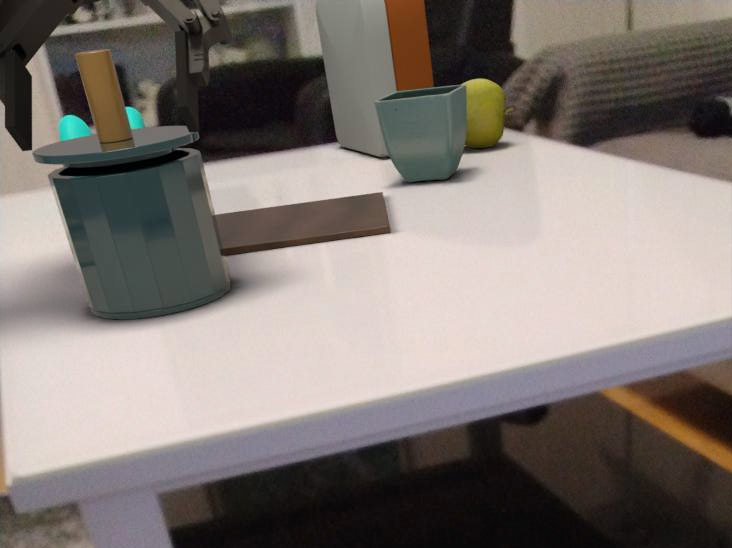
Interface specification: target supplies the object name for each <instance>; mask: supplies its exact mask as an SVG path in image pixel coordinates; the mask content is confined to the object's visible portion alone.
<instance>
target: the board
mask: <svg viewBox="0 0 732 548" xmlns="http://www.w3.org/2000/svg"><path fill="white" fill-rule="evenodd" d="M215 216H216V220H217V225H218V229H219V233H220V237H221V242H222V246H223V250H224V254H225V256H228V255H236V254H242V253H251V252H257V251H265V250H273V249H280V248H286V247H293V246H302V245H308V244H315V243H323V242H329V241H330V242H331V241H338V240H345V239H346V240H347V239H352V238H353V239H354V238H360V237H367V236H375V235H381V234H382V235H383V234H389V233H391V227H390V221H389V217H388V216H389V215H388V211H387V206H386V202H385V197H384V192H383V191H379V192H373V193H365V194H358V195H351V196H350V195H349V196H342V197H335V198H327V199H320V200H319V199H318V200H312V201H306V202H297V203H291V204H283V205H276V206H269V207H262V208H254V209H247V210H238V211H233V212H224V213H217V214H216V213H215Z"/></svg>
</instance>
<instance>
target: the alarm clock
mask: <svg viewBox="0 0 732 548" xmlns="http://www.w3.org/2000/svg"><path fill="white" fill-rule="evenodd" d="M315 16H316V21H317V28H318V35H319V40H320V41H319V42H320V46H321V53H322V57H323V65H324V70H325V76H326V82H327V89H328V95H329V100H330V108H331V114H332V120H333V125H334V132H335V136H336V139H337V142H338V144H339V146H340V147H343V148H345V149H350V150H353V151H357V152H361V153H365V154H367V155H368V154H369V155H372V156H376V157H379V158H383V159H385V158H390V157H389V154H388V152H387V149H386V146H385V143H384V139H383V136H382V132H381V128H380V124H379V120H378V116H377V112H376V108H375V104H374V101H376V100H378V99H380V98H382V97H384V96H387V95H389V94H391V93H393V92H398V91H406V90H416V89H425V88H434V87H435V86H434V85H435V83H434V77H433V67H432V59H431V49H430V43H429V32H428V24H427V15H426V6H425V0H316V1H315Z"/></svg>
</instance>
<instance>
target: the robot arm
mask: <svg viewBox="0 0 732 548" xmlns="http://www.w3.org/2000/svg"><path fill="white" fill-rule="evenodd" d="M139 1H140V2H141V3H142V4H143V5H144V6H145V7H149V8H150V9H151V10H152V11H153V12H154V13H155V14H156V15H157V16H158V17H159V18H160V19H161V20H162V21H163V23H165V24H166V25H167V26H168V27H169V28H171V30H172V31H173V32H174V43H175V44H174V49H175V51H174V53H175V69H176V70H175V75H176V103H177V110H178V112H179V115H180V116H181V118H182V120H183V122H184V124H185V126H187V128H188V131H189V133H191V132H199V133H200V119H199V118H200V117H199V114H200V113H199V93H198V92H199V91H198V87H208V86H209V83H210V80H211V77H210V53H209V52H210V49H211V48H212V47H213V46H214V45H217V44H218V43H219V44H220V45H222V46H226V45H229V44H231V43H232V41H233V33H232V32H231V28H230V26H229V23H228V20H227V17H226V15H225V12H224V10H223V8H222V6H221V4H220V3H219V1H218V0H193V2H194V3H195V6H196V7H197V9H198V10H199V12H200V14H201V15H202V18H199V15H198V13H197V11H196V10H194V11H193V12H194V13H193V12H192V11H191V9H189V8H188V7H187V6H186V5H185V4H184V3H183V2H182V1H181V0H139ZM97 2H101V0H0V102H1V103H2V104H3V106H4V128H5V129H6V131H7V132H8V134H9V135H10V137H11V138H12V139H13V140H14V142H15V143H16V145H17V146H18V147H19V149H20V150H21V152H29V151H33V76H32V74H31V72H30V71H29V69H28V67H26V66H28V64H29V63H30V62H31V60H32V59H33V58H34V56H35V55H36V54H37V53H38V52H39V50H40V49H41V48H42V47H43V46H44V44H45V43H46V41H47V40H48V39H49V37H51V35H52V34H53V33H54V32H55V30H56V29H57V28H58V26H59V25H60V24H61V22H62V21H63V20H64V19H65V18H66V16H67V15H71V16H73V15H74V14H75V13H76V12H78V10H79V9H80V8H81V6H82V5H83V4H84V3H86V4H91V3H97Z"/></svg>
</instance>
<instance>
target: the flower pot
mask: <svg viewBox="0 0 732 548" xmlns="http://www.w3.org/2000/svg"><path fill="white" fill-rule="evenodd" d="M374 104H375V108H376V112H377V116H378V120H379V124H380V128H381V132H382V136H383V139H384V143H385V146H386V149H387V152H388V154H389V157H388V158H390V159H389V160H390V161H391V162H392V164H393V166H394V168H395V169H396V171H397V172H398V174H399V175H400V176H401V177H402V179H403V180H404V181H405V182H406V183H415V182H423V181H433V180H435V181H436V180H440V181H445V180H447V179H449V178H451V176H452V175H453V174H454V173H456V172H457V171H458V168H459V166H460V163H461V160H462V157H463V152H464V150H465V139H466V130H467V90H466V85H461V84H456V85H455V84H454V85H445V86H434V88H425V89H416V90H406V91H398V92H393V93H391V94H389V95H387V96H384V97H382V98H380V99H378V100H376V101H374Z"/></svg>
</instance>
